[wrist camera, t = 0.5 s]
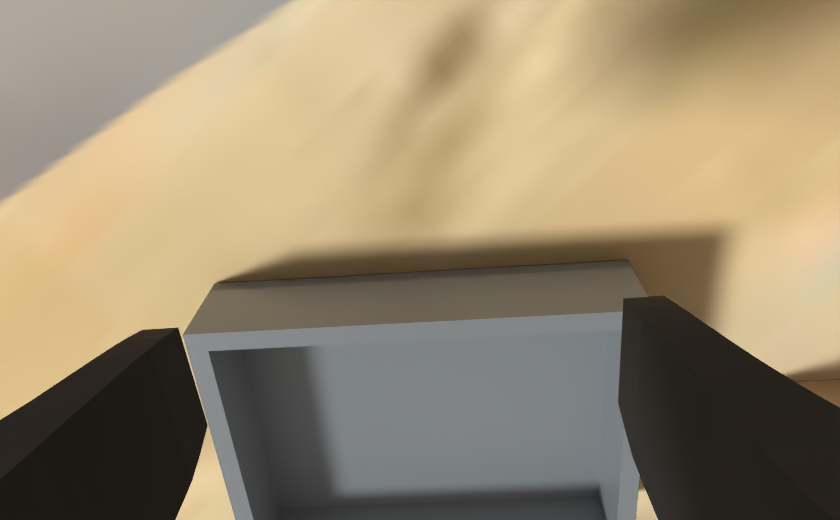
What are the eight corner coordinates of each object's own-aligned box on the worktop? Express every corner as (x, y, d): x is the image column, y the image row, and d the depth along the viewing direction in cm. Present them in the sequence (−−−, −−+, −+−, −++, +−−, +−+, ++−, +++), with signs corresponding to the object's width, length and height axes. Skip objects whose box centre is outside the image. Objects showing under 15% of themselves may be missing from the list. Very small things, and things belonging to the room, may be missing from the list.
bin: (611, 497, 25) (631, 565, 23) (270, 509, 26) (251, 576, 23) (627, 259, 21) (655, 309, 18) (214, 283, 21) (182, 334, 19)
